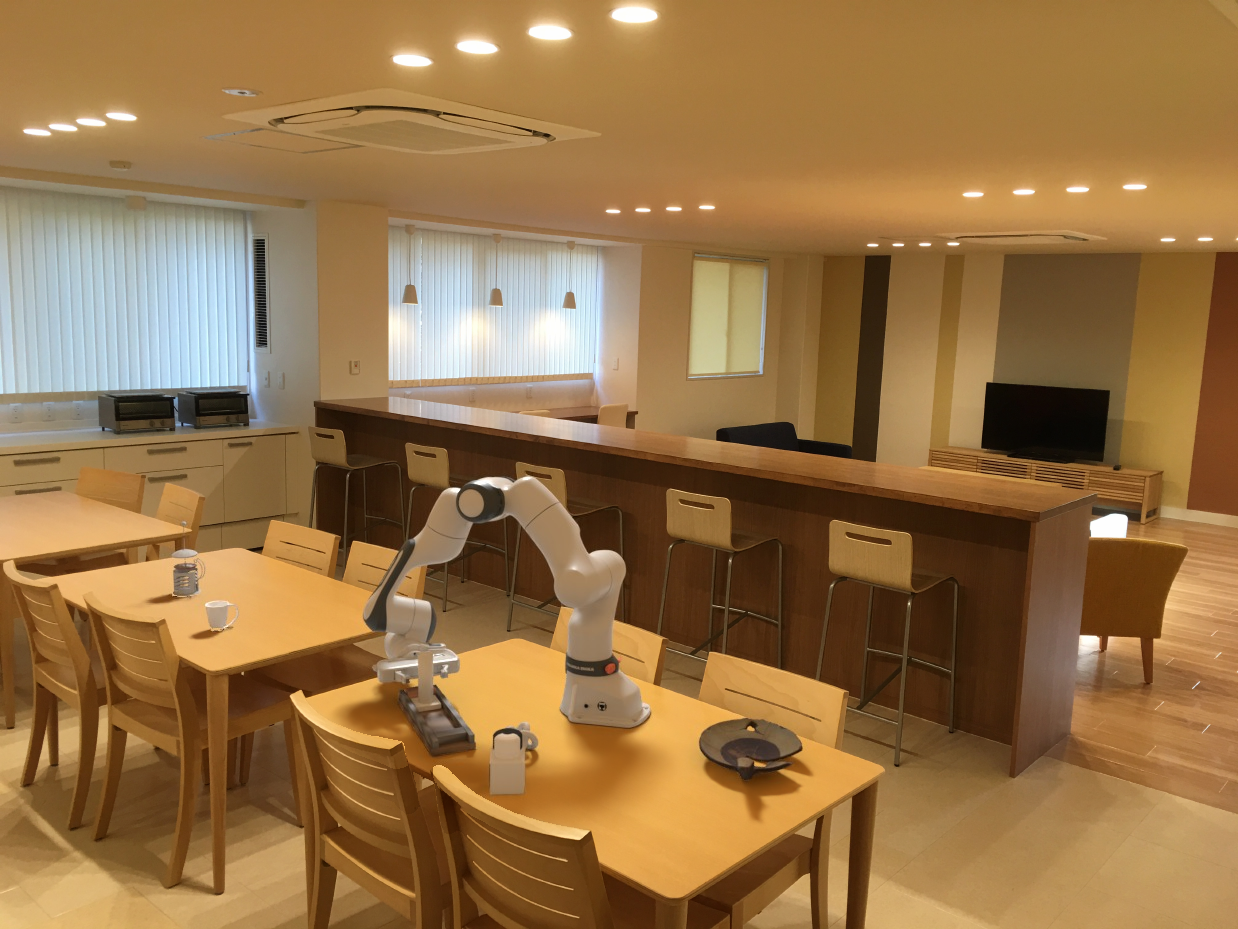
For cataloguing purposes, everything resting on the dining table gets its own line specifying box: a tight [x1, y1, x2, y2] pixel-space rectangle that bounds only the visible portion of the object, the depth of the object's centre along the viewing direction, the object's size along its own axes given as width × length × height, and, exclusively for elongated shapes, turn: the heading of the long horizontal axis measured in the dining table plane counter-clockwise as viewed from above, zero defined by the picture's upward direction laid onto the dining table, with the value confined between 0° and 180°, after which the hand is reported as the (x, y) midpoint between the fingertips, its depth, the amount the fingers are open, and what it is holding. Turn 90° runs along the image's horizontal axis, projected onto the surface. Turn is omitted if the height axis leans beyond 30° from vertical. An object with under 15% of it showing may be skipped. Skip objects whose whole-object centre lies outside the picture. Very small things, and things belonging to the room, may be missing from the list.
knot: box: [505, 721, 539, 751], centre depth 216 cm, size 8×8×6 cm
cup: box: [204, 600, 240, 631], centre depth 293 cm, size 7×10×8 cm
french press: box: [171, 521, 206, 596], centre depth 326 cm, size 10×12×25 cm
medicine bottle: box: [488, 727, 526, 796], centre depth 199 cm, size 7×7×12 cm
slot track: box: [397, 684, 477, 757], centre depth 228 cm, size 32×10×4 cm, turn 26°
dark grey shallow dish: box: [698, 717, 803, 782], centre depth 211 cm, size 22×30×8 cm
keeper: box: [411, 651, 441, 712], centre depth 235 cm, size 6×6×13 cm
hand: (426, 678), depth 234 cm, fingers open, 8 cm apart
